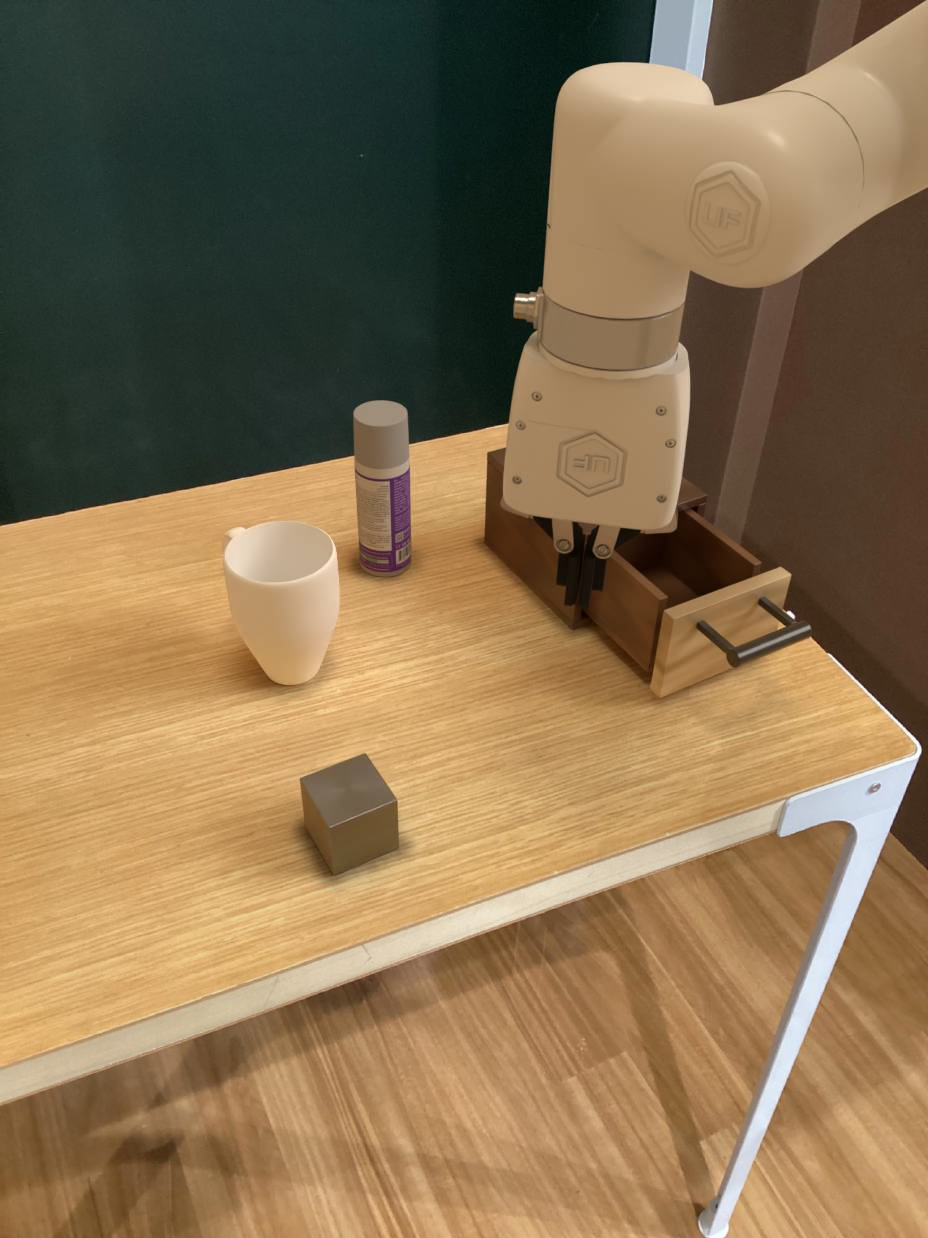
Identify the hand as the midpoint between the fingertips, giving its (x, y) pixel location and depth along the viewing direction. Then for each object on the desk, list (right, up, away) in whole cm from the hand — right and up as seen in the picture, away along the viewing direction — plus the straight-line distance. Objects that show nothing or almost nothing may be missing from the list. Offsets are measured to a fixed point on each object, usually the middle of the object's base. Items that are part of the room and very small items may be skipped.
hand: (579, 593), depth 69 cm
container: (-15, +3, +28) cm, 32 cm away
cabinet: (+3, +3, +28) cm, 28 cm away
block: (-15, -16, +3) cm, 22 cm away
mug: (-22, -5, +18) cm, 29 cm away
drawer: (+10, -4, +18) cm, 21 cm away
